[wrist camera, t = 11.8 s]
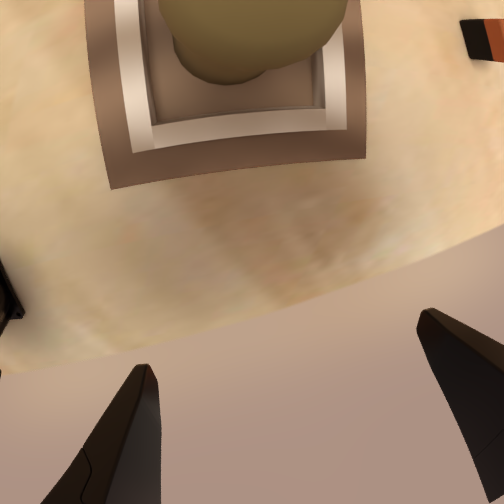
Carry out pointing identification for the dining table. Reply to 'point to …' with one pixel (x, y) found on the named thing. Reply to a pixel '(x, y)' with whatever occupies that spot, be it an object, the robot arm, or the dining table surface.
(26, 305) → the dining table surface
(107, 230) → the dining table surface
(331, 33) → the cork
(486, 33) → the battery
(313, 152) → the socket board
